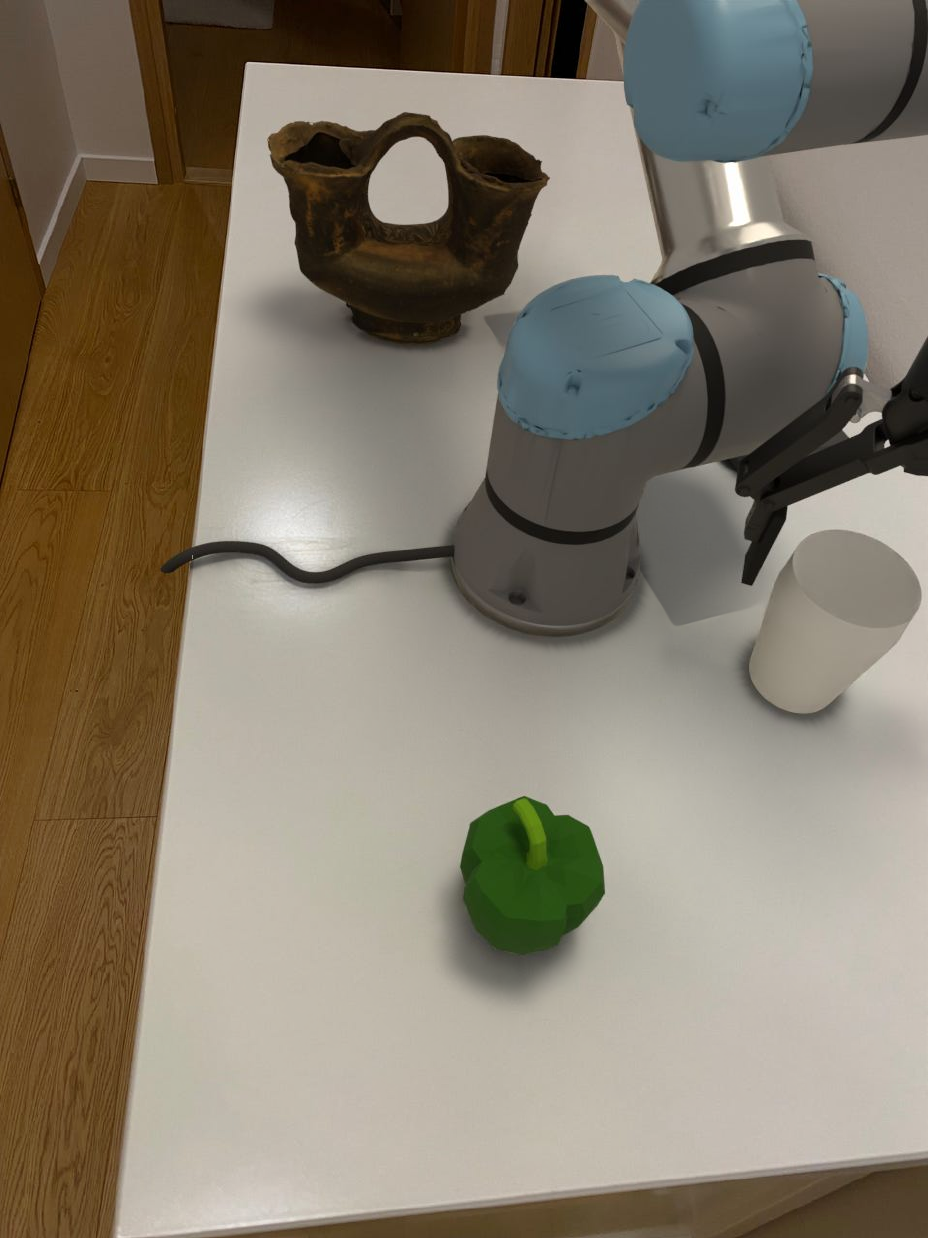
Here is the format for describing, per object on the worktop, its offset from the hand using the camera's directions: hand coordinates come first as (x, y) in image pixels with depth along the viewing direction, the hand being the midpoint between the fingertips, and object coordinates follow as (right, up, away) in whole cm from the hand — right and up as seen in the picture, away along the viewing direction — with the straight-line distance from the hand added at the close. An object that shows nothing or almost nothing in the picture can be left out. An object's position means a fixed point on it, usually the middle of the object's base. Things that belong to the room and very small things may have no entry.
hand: (846, 598), depth 65 cm
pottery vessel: (-32, +29, +32) cm, 54 cm away
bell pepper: (-23, -20, -5) cm, 30 cm away
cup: (-1, -6, +8) cm, 10 cm away
